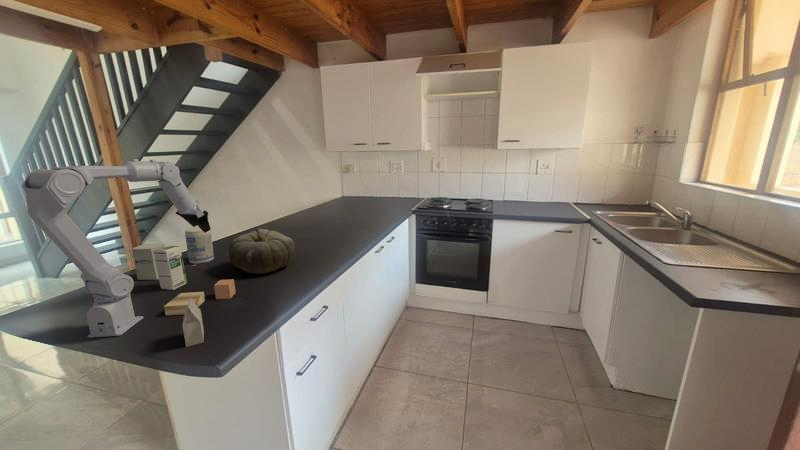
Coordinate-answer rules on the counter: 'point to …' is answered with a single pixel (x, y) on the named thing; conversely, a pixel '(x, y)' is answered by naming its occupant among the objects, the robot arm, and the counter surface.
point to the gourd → (261, 251)
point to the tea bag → (193, 325)
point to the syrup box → (170, 267)
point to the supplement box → (146, 261)
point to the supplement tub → (199, 245)
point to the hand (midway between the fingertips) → (201, 228)
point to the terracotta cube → (224, 289)
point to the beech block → (183, 302)
